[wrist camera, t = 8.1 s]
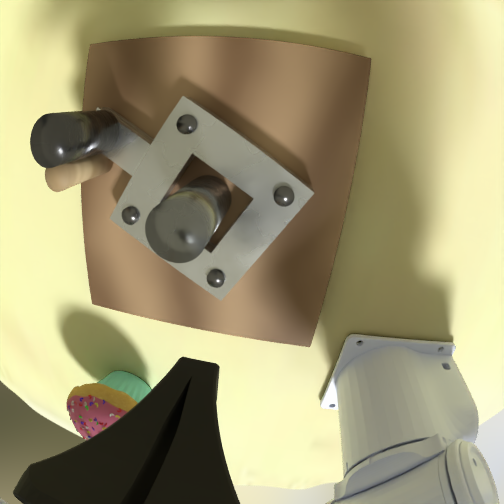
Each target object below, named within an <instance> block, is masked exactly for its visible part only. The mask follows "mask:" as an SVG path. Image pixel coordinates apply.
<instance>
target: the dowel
mask: <svg viewBox="0 0 504 504" xmlns="http://www.w3.org/2000/svg"><path fill="white" fill-rule="evenodd" d="M112 166H113V161H112V160H110V159H109V158H108V157H106V156H105V155H104V154H102V153H101V154H97V155H93V156H90V157H86V158H83V159H79V160H76V161H72V162H69V163H66V164H63V165H59V166H56V167H53V168H46V170H45V179H46V182H47V185H48V186H49V188H50V189H51V190H53V191H55V192H60V191H63V190H65V189H67V188H70V187H72V186H75V185H77V184H79V183H82V182H84V181H87V180H89V179H92V178H94V177H97V176H100V175H102V174H105V173H107V172H109V171H110V170H111V168H112Z"/></svg>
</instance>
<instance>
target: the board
mask: <svg viewBox="0 0 504 504" xmlns="http://www.w3.org/2000/svg"><path fill="white" fill-rule="evenodd" d="M370 66H371V58H367V57H363V56H359V55H355V54H350V53H346V52H341V51H336V50H332V49H326V48H321V47H316V46H310V45H304V44H297V43H290V42H282V41H274V40H265V39H254V38H240V37H220V36H172V37H152V38H139V39H128V40H119V41H111V42H104V43H97V44H91V45H90V48H89V55H88V62H87V70H86V78H85V88H84V99H83V111H92V110H96V109H97V107H109V108H111V109H112V110H113V111H115V112H116V113H118V114H119V115H121V116H122V117H124V118H125V119H126V120H128V121H129V122H131V123H132V124H134V125H135V126H136V127H138V128H139V129H141V130H142V131H144V132H145V133H146V134H148V135H149V136H151V137H152V138H154V139H155V137H156V135H157V134H158V132H159V131H160V129H161V128H162V126H163V124H164V123H165V121H166V120H167V118H168V117H169V115H170V114H171V112H172V111H173V109H174V108H175V106H176V105H177V103H178V102H179V101H180V99H181V98H182V96H187V97H191V98H192V99H194V100H195V101H197V102H198V103H200V104H201V105H203V106H204V107H206V108H207V109H209V110H210V111H211V112H213V113H214V114H216V115H217V116H219V117H220V118H221V119H223V120H224V121H226V122H227V123H229V124H230V125H231V126H233V127H234V128H236V129H237V130H238V131H240V132H241V133H242V134H244V135H245V136H247V137H248V138H249V139H251V140H252V141H253V142H255V143H256V144H257V145H259V146H260V147H261V148H263V149H264V150H265V151H267V152H268V153H269V154H271V155H272V156H273V157H274V158H276V159H277V160H278V161H280V162H281V163H282V164H284V165H285V166H286V167H287V168H289V169H290V170H291V171H292V172H294V173H295V174H296V175H297V176H299V177H300V178H301V179H302V180H304V181H305V182H306V183H307V184H309V185H310V186H311V187H312V188H313V190H314V194H313V195H312V197H311V198H310V199H309V200H308V201H307V202H306V204H305V205H304V206H303V207H302V208H301V209H300V211H299V212H298V213H297V214H296V215H295V216H294V217H293V219H292V220H291V221H290V222H289V223H288V224H287V226H286V227H285V228H284V229H283V230H282V231H281V233H280V234H279V235H278V236H277V237H276V238H275V239H274V241H273V242H272V243H271V244H270V245H269V246H268V248H267V249H266V250H265V251H264V252H263V253H262V254H261V256H260V257H259V258H258V259H257V260H256V261H255V263H254V264H253V265H252V266H251V267H250V268H249V269H248V271H247V272H246V273H245V274H244V275H243V276H242V277H241V279H240V280H239V281H238V282H237V283H236V284H235V285H234V287H233V288H232V289H231V290H230V291H229V292H228V294H227V295H226V296H225V297H224V298H223V299H222V300H221V301H220V300H219V299H218V298H216V297H215V296H213V295H212V294H210V293H209V292H208V291H206V290H205V289H203V288H202V287H200V286H199V285H198V284H196V283H195V282H193V281H192V280H191V279H189V278H188V277H186V276H185V275H184V274H182V273H181V272H180V271H178V270H177V269H175V268H174V267H173V266H171V265H170V264H169V263H167V262H166V261H164V260H163V259H162V258H160V257H159V256H158V255H156V254H155V253H154V252H152V251H151V250H150V249H148V248H147V247H146V246H144V245H143V244H142V243H140V242H139V241H138V240H136V239H135V238H134V237H133V236H131V235H130V234H129V233H127V232H126V231H125V230H123V229H122V228H121V227H120V226H118V225H117V224H116V223H114V222H113V221H112V220H111V219H110V217H111V215H112V213H113V211H114V209H115V207H116V205H117V203H118V201H119V199H120V197H121V196H122V194H123V192H124V190H125V188H126V186H127V185H128V183H129V181H130V179H131V177H132V175H130V174H129V173H128V172H126V171H125V170H124V169H122V168H121V167H120V166H118V165H117V164H116V163H114V162H113V166H112V168H111V170H110V171H109V172H107V173H105V174H102V175H100V176H97V177H94V178H92V179H89V180H87V181H84V182H82V183H81V199H82V218H83V232H84V244H85V254H86V263H87V271H88V279H89V286H90V293H91V299H92V304H94V305H98V306H102V307H105V308H109V309H113V310H117V311H121V312H125V313H129V314H133V315H137V316H141V317H146V318H150V319H154V320H159V321H163V322H168V323H172V324H177V325H182V326H186V327H191V328H196V329H201V330H206V331H212V332H217V333H222V334H228V335H233V336H239V337H245V338H251V339H257V340H264V341H270V342H277V343H284V344H291V345H298V346H306V347H310V346H311V342H312V339H313V336H314V333H315V329H316V326H317V322H318V319H319V315H320V312H321V308H322V305H323V301H324V298H325V294H326V290H327V287H328V283H329V279H330V275H331V271H332V267H333V264H334V260H335V256H336V252H337V247H338V243H339V239H340V235H341V231H342V226H343V222H344V217H345V213H346V208H347V204H348V199H349V194H350V189H351V184H352V179H353V174H354V169H355V164H356V158H357V153H358V147H359V142H360V136H361V130H362V124H363V117H364V111H365V104H366V97H367V90H368V82H369V75H370ZM203 175H211V176H215V177H218V178H220V179H221V180H222V181H224V182H225V183H226V185H227V186H228V188H229V190H230V192H231V206H230V208H229V210H228V212H227V213H226V215H225V216H224V218H223V220H222V221H221V223H220V224H219V226H218V227H217V229H216V231H215V232H214V234H213V235H212V237H211V239H210V241H211V242H212V243H214V244H215V245H216V244H217V243H218V242H219V240H220V239H221V238H222V236H223V235H224V234H225V233H226V231H227V230H228V229H229V227H230V226H231V225H232V224H233V222H234V221H235V220H236V218H237V217H238V216H239V215H240V213H241V212H242V211H243V210H244V208H245V207H246V206H247V204H248V203H249V202H250V201H251V199H252V197H251V196H249V195H248V194H247V193H245V192H244V191H243V190H241V189H240V188H239V187H237V186H236V185H235V184H233V183H232V182H231V181H229V180H228V179H227V178H225V177H224V176H223V175H221V174H220V173H219V172H217V171H216V170H215V169H213V168H212V167H210V166H209V165H208V164H206V163H205V162H204V161H202V160H201V159H199V158H198V157H197V156H195V157H194V158H193V160H192V161H191V163H190V164H189V166H188V167H187V169H186V170H185V172H184V173H183V175H182V176H181V178H180V179H179V181H178V182H177V184H176V185H175V187H174V188H173V190H172V191H171V193H170V194H169V196H171V195H172V194H174V193H175V192H177V191H178V190H179V189H181V188H182V187H184V186H185V185H187V184H188V183H190V182H191V181H193V180H194V179H196V178H197V177H200V176H203ZM169 196H168V197H169Z"/></svg>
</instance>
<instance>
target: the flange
mask: <svg viewBox="0 0 504 504" xmlns="http://www.w3.org/2000/svg"><path fill="white" fill-rule="evenodd" d="M30 145H31V151H32V154H33V157H34V159H35V160H36V162H37V163H38V164H39V165H41V166H42V167H45V168H53V167H56V166H59V165H63V164H66V163H69V162H72V161H76V160H79V159H83V158H86V157H90V156H93V155H97V154H101V153H102V154H104V155H105V156H106V157H108V158H109V159H110V160H112V161H113V162H114V163H116V164H117V165H118V166H120V167H121V168H122V169H124V170H125V171H126V172H128V173H129V174H130V175H132V177H131V179H130V181H129V183H128V185H127V186H126V188H125V190H124V192H123V194H122V196H121V197H120V199H119V201H118V203H117V205H116V207H115V209H114V211H113V213H112V215H111V217H110V219H111V220H112V221H113V222H114V223H116V224H117V225H118V226H120V227H121V228H122V229H123V230H125V231H126V232H127V233H129V234H130V235H131V236H133V237H134V238H135V239H136V240H138V241H139V242H140V243H142V244H143V245H144V246H146V247H147V248H148V249H150V250H151V251H152V252H154V251H153V249H152V248H151V247H150V245H149V243H148V241H147V238H146V234H145V223H146V219H147V217H148V215H149V213H150V212H151V210H152V209H153V208H154V207H156V206H157V205H158V204H160V203H161V202H162V201H164V200H165V199H167V198H168V196H169V194H170V193H171V191H172V190H173V188H174V187H175V185H176V184H177V182H178V181H179V179H180V178H181V176H182V175H183V173H184V172H185V170H186V169H187V167H188V166H189V164H190V163H191V161H192V160H193V158H194V157H195V156H197V157H198V158H199V159H201V160H202V161H204V162H205V163H206V164H208V165H209V166H210V167H212V168H213V169H215V170H216V171H217V172H219V173H220V174H221V175H223V176H224V177H225V178H227V179H228V180H229V181H231V182H232V183H233V184H235V185H236V186H237V187H239V188H240V189H241V190H243V191H244V192H245V193H247V194H248V195H249V196H251V197H252V199H251V201H250V202H249V203H248V204H247V206H246V207H245V208H244V210H243V211H242V212H241V213H240V215H239V216H238V217H237V218H236V220H235V221H234V222H233V224H232V225H231V226H230V227H229V229H228V230H227V231H226V233H225V234H224V235H223V236H222V238H221V239H220V240H219V242H218V243H217V244H216V245H215V244H214V243H212V242H211V241H210V240H209V242H208V243H207V245H206V247H205V248H204V250H203V251H202V253H201V254H200V255H199V256H198V257H197V258H195V259H194V260H192V261H190V262H186V263H173V262H169V261H167V260H165V259H163V258H162V259H163V260H164V261H166V262H167V263H169V264H170V265H171V266H173V267H174V268H175V269H177V270H178V271H180V272H181V273H182V274H184V275H185V276H186V277H188V278H189V279H191V280H192V281H193V282H195V283H196V284H198V285H199V286H200V287H202V288H203V289H205V290H206V291H208V292H209V293H210V294H212V295H213V296H215V297H216V298H218V299H219V300H220V301H221V300H222V299H223V298H224V297H225V296H226V295H227V294H228V292H229V291H230V290H231V289H232V288H233V287H234V285H235V284H236V283H237V282H238V281H239V280H240V279H241V277H242V276H243V275H244V274H245V273H246V272H247V271H248V269H249V268H250V267H251V266H252V265H253V264H254V263H255V261H256V260H257V259H258V258H259V257H260V256H261V254H262V253H263V252H264V251H265V250H266V249H267V248H268V246H269V245H270V244H271V243H272V242H273V241H274V239H275V238H276V237H277V236H278V235H279V234H280V233H281V231H282V230H283V229H284V228H285V227H286V226H287V224H288V223H289V222H290V221H291V220H292V219H293V217H294V216H295V215H296V214H297V213H298V212H299V211H300V209H301V208H302V207H303V206H304V205H305V204H306V202H307V201H308V200H309V199H310V198H311V197H312V195H313V194H314V190H313V188H312V187H311V186H310V185H309V184H307V183H306V182H305V181H304V180H302V179H301V178H300V177H299V176H297V175H296V174H295V173H294V172H292V171H291V170H290V169H289V168H287V167H286V166H285V165H284V164H282V163H281V162H280V161H278V160H277V159H276V158H274V157H273V156H272V155H271V154H269V153H268V152H267V151H265V150H264V149H263V148H261V147H260V146H259V145H257V144H256V143H255V142H253V141H252V140H251V139H249V138H248V137H247V136H245V135H244V134H242V133H241V132H240V131H238V130H237V129H236V128H234V127H233V126H231V125H230V124H229V123H227V122H226V121H224V120H223V119H221V118H220V117H219V116H217V115H216V114H214V113H213V112H211V111H210V110H209V109H207V108H206V107H204V106H203V105H201V104H200V103H198V102H197V101H195V100H194V99H192V98H191V97H187V96H182V98H181V99H180V101H179V102H178V103H177V105H176V106H175V108H174V109H173V111H172V112H171V114H170V115H169V117H168V118H167V120H166V121H165V123H164V124H163V126H162V128H161V129H160V131H159V132H158V134H157V135H156V137H155V139H154V138H152V137H151V136H149V135H148V134H146V133H145V132H144V131H142V130H141V129H139V128H138V127H136V126H135V125H134V124H132V123H131V122H129V121H128V120H126V119H125V118H124V117H122V116H121V115H119V114H118V113H116V112H115V111H113V110H112V109H111V108H109V107H97V109H96V110H92V111H74V112H61V113H50V114H45V115H43V116H42V117H40V118H39V119H38V120H37V122H36V123H35V125H34V127H33V129H32V133H31V138H30ZM154 253H155V252H154ZM155 254H156V253H155ZM156 255H157V254H156ZM159 257H160V256H159ZM160 258H161V257H160Z"/></svg>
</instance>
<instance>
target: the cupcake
mask: <svg viewBox="0 0 504 504" xmlns="http://www.w3.org/2000/svg"><path fill="white" fill-rule="evenodd" d="M150 391H151V389H150V387H149V386H148V385H147V384H146V383H145V382H144V381H143V380H142V379H140V378H139V377H137V376H135V375H133V374H131V373H128V372H124V371H114V372H112V373H110V374H109V375H108V376H106V377H105V378H104V379H102V380H101V381H99V382H98V383H92V384H84V385H82V386H80V387H79V386H77V387H74V388H73V390H72V391H71V393H70V394H69V396H68V399H67V411H68V410H69V416H70V417H71V418H70V420H71V419H72V422H73V424H74V426H75V428H76V430H77V432H79V433H80V434H81V435H82V436H83V439H86V440H88V439H90V438H92V437H93V436H95V435H96V434H98V433H100V432H101V431H103V430H104V429H106V428H107V427H109V426H110V425H112V424H113V423H114V422H116V421H117V420H118V419H120V418H121V417H122V416H123V415H125V414H126V413H127V412H128V411H130V410H131V409H132V408H133V407H134V406H135V405H136V404H138V403H139V402H140V401H141V400H142V399H143V398H144V397H145V396H146V395H147V394H148V393H149V392H150Z"/></svg>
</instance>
